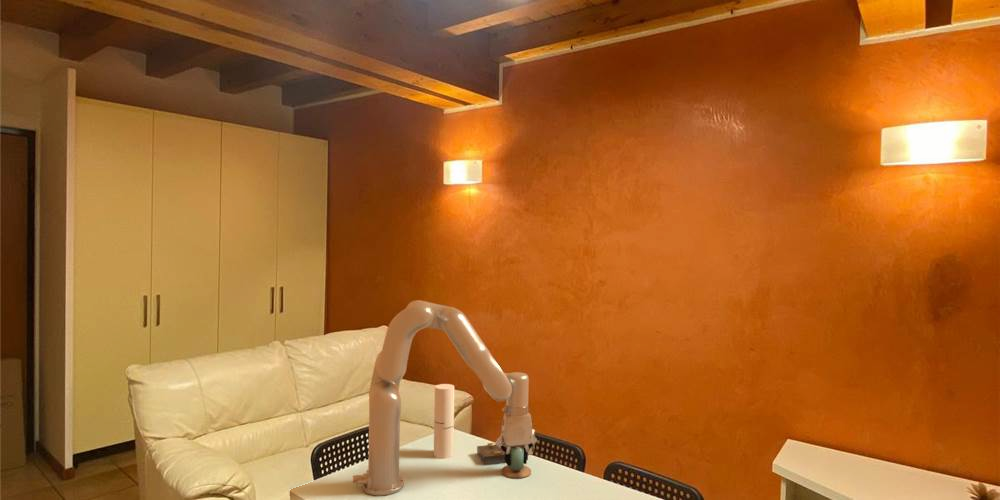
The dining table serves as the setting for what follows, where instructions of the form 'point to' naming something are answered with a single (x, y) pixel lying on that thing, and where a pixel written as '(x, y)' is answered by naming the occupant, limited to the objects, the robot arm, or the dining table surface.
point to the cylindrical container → (444, 421)
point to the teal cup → (517, 457)
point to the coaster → (516, 472)
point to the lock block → (491, 454)
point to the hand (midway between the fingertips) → (516, 462)
